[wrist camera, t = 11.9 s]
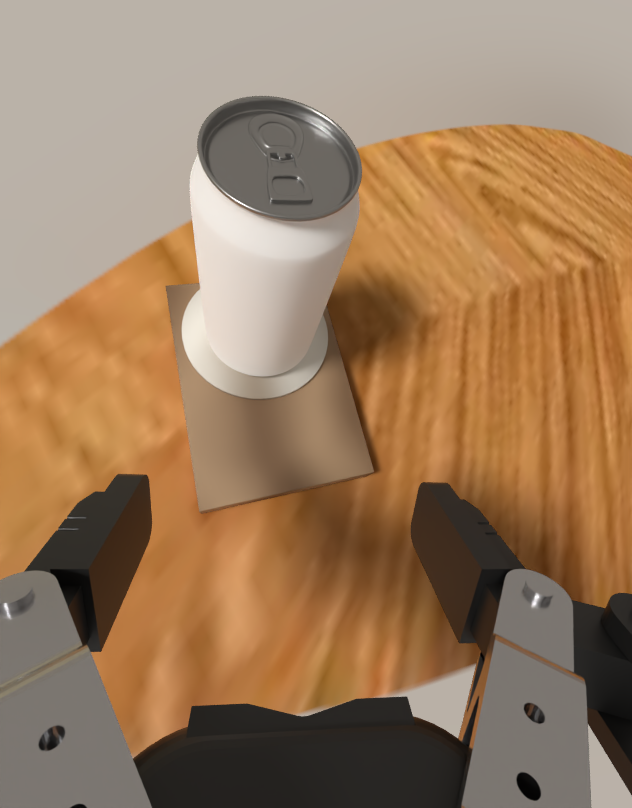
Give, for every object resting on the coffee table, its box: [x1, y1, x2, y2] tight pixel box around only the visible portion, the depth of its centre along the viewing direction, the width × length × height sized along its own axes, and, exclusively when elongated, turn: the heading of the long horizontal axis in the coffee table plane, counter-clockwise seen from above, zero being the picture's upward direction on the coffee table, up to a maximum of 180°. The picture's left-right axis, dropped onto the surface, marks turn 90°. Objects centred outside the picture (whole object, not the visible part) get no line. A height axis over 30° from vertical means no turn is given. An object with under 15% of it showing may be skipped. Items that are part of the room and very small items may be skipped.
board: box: [166, 283, 374, 514], centre depth 24 cm, size 10×14×2 cm
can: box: [190, 96, 362, 377], centre depth 19 cm, size 6×6×12 cm
